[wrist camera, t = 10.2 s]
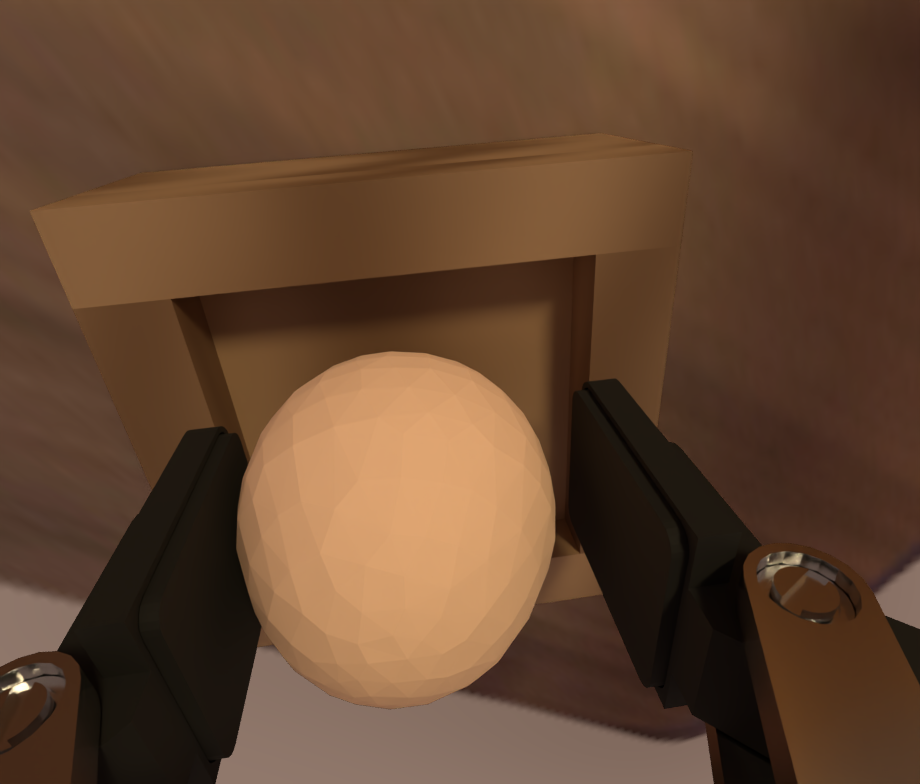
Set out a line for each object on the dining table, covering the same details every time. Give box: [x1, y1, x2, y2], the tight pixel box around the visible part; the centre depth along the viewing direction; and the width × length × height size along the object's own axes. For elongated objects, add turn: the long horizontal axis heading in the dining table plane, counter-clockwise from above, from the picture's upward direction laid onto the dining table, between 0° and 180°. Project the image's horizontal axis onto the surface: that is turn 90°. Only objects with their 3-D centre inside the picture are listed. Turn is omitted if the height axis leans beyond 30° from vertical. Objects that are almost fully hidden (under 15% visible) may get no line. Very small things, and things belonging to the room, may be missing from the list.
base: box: [30, 133, 693, 647], centre depth 13 cm, size 10×10×4 cm
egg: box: [236, 351, 555, 709], centre depth 9 cm, size 5×5×6 cm
